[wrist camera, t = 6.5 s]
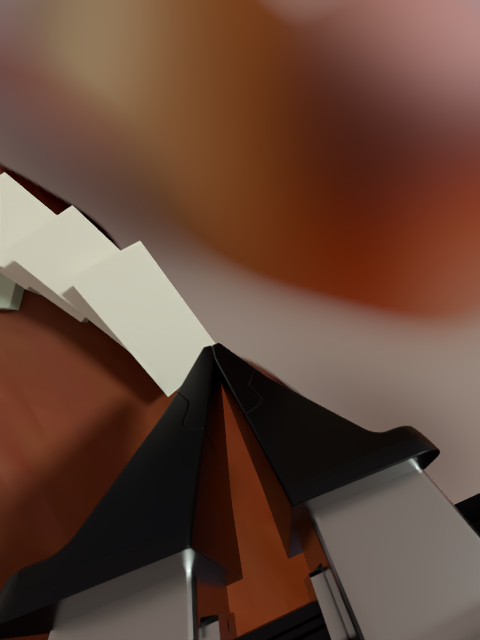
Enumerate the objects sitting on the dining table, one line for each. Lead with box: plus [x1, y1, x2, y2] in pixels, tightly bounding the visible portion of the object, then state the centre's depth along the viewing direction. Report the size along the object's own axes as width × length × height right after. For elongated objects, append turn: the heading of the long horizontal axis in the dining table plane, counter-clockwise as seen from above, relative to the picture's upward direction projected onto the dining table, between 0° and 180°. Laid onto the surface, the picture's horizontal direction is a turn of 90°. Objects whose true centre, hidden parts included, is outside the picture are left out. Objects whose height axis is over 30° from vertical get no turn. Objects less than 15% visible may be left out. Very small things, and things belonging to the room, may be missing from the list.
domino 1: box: [67, 241, 215, 397], centre depth 15 cm, size 2×5×10 cm
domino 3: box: [0, 173, 89, 322], centre depth 15 cm, size 2×5×10 cm
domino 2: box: [3, 206, 128, 350], centre depth 15 cm, size 2×5×10 cm
